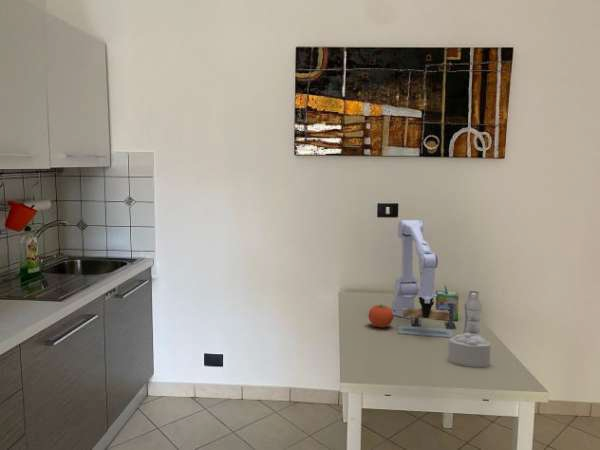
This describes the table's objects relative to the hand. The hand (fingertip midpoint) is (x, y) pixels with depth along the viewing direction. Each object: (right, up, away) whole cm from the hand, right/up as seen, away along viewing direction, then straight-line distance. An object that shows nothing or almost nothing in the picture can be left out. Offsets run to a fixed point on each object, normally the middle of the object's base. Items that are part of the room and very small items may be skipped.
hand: (425, 316), depth 194 cm
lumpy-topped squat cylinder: (+7, -10, -29) cm, 31 cm away
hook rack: (+6, -6, +11) cm, 13 cm away
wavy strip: (0, 0, 0) cm, 0 cm away
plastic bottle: (+14, -8, -11) cm, 20 cm away
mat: (0, -7, +1) cm, 7 cm away
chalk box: (+15, -5, +22) cm, 28 cm away
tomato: (-17, -6, +7) cm, 19 cm away
